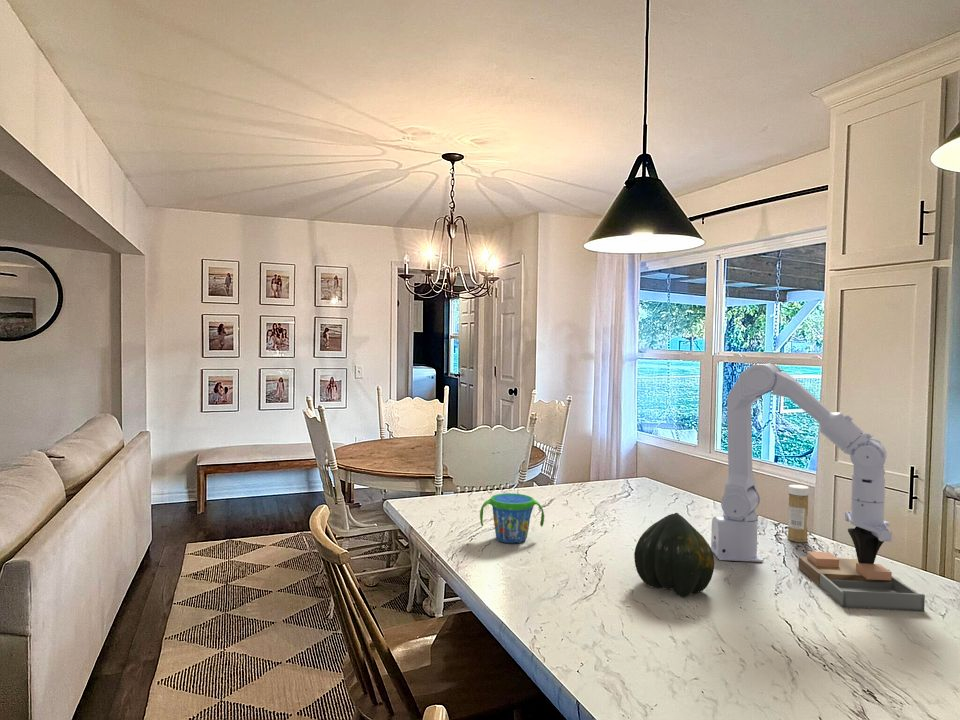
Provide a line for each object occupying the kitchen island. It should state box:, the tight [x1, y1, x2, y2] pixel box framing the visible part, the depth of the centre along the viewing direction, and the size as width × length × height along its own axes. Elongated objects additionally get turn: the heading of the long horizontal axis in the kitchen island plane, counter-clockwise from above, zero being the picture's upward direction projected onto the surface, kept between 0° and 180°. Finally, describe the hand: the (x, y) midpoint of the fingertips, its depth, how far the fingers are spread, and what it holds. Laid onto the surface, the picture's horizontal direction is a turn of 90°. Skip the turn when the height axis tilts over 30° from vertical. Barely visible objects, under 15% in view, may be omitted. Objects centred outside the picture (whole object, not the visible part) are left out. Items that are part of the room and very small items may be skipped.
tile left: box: [806, 550, 839, 567], centre depth 133 cm, size 4×4×2 cm
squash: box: [633, 512, 715, 598], centre depth 124 cm, size 14×15×15 cm
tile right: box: [856, 563, 893, 580], centre depth 126 cm, size 4×4×2 cm
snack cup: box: [479, 492, 545, 544], centre depth 153 cm, size 16×10×10 cm
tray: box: [819, 574, 926, 612], centre depth 120 cm, size 14×10×3 cm
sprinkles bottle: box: [787, 484, 810, 544], centre depth 155 cm, size 5×5×14 cm
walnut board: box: [798, 556, 891, 586], centre depth 131 cm, size 14×10×2 cm
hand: (865, 565), depth 129 cm, fingers closed
